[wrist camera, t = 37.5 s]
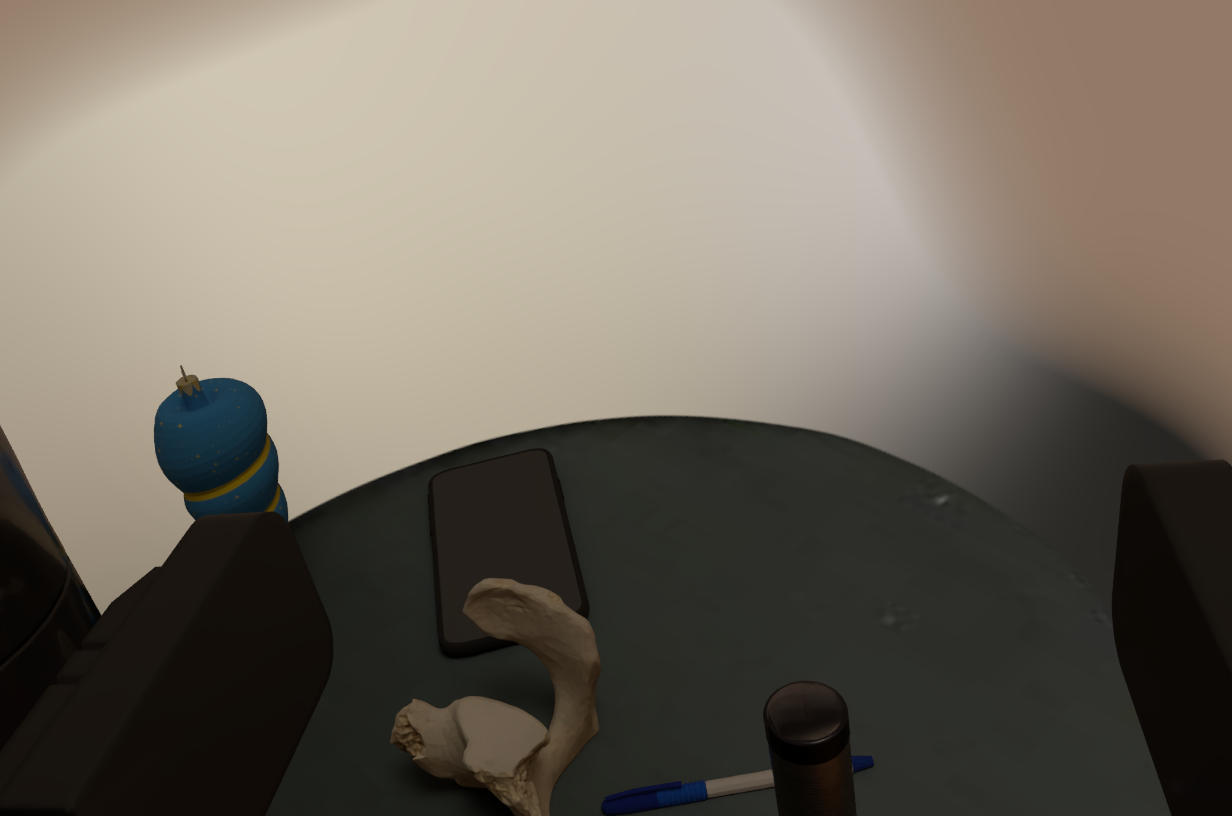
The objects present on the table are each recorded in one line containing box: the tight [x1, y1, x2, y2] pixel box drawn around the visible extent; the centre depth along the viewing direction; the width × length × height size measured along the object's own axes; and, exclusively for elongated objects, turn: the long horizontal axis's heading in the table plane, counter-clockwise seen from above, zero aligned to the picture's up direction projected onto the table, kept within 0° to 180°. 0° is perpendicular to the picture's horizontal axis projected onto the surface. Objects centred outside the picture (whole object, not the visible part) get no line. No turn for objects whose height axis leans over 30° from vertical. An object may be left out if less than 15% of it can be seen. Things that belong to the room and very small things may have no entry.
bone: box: [390, 578, 601, 816], centre depth 42 cm, size 9×6×10 cm
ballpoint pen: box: [602, 756, 874, 815], centre depth 42 cm, size 10×1×1 cm, turn 95°
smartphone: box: [428, 448, 589, 656], centre depth 57 cm, size 7×1×15 cm
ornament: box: [154, 366, 288, 522], centre depth 52 cm, size 5×5×15 cm
